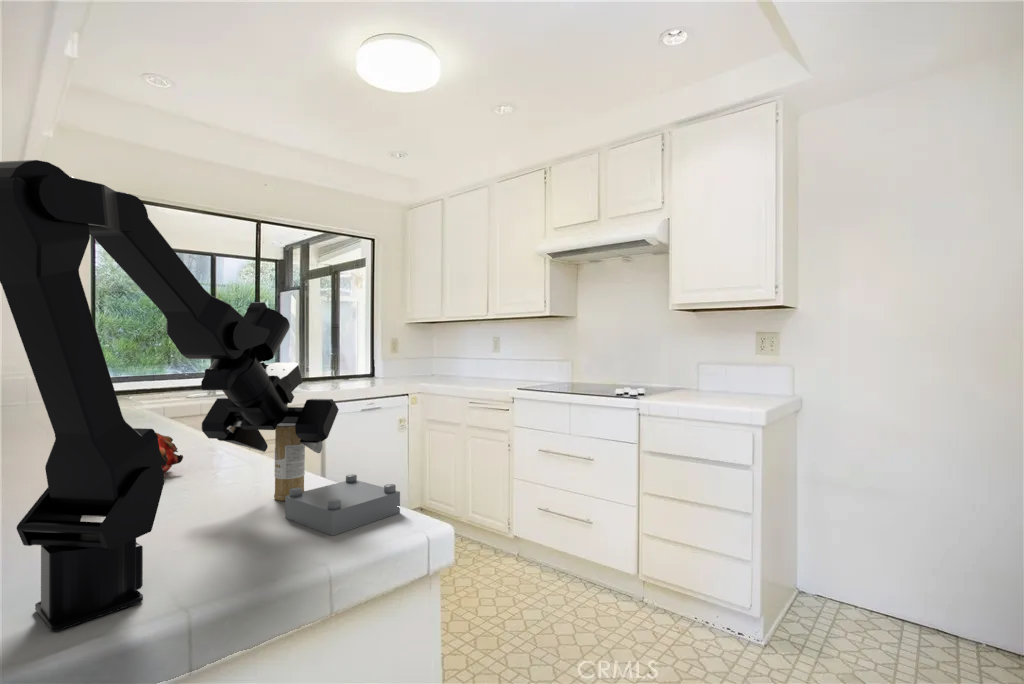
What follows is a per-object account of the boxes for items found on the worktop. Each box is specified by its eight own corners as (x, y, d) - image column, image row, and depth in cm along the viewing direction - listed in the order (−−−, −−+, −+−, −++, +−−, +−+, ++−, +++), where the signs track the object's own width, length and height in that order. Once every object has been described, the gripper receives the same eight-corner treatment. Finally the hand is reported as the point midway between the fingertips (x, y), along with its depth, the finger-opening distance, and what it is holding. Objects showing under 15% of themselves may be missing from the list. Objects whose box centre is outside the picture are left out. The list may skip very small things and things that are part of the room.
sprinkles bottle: (270, 496, 81) (271, 411, 81) (301, 491, 84) (301, 408, 84) (277, 503, 77) (277, 414, 77) (309, 498, 80) (309, 411, 80)
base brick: (331, 535, 64) (331, 504, 64) (285, 517, 71) (285, 489, 71) (400, 512, 73) (400, 485, 73) (352, 498, 80) (352, 473, 80)
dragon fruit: (145, 476, 99) (163, 498, 91) (101, 457, 93) (117, 478, 85) (177, 438, 102) (197, 456, 94) (136, 417, 96) (154, 434, 89)
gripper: (332, 344, 75) (363, 410, 86) (214, 344, 77) (259, 408, 88) (304, 405, 67) (342, 468, 78) (174, 403, 69) (229, 465, 80)
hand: (292, 449), depth 81 cm, fingers open, 9 cm apart
